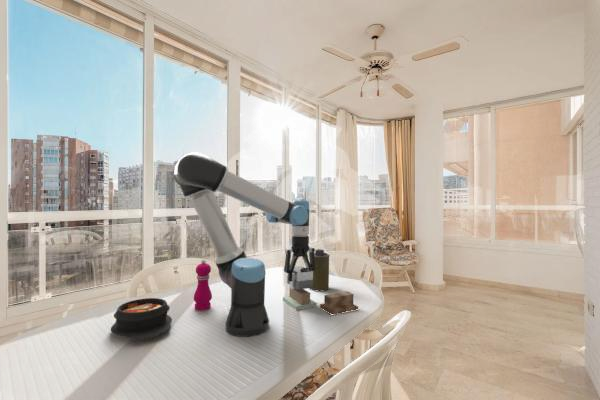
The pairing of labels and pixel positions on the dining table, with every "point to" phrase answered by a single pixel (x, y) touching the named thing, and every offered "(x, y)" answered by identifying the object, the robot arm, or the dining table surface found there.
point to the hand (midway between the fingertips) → (299, 287)
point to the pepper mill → (203, 287)
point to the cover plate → (302, 273)
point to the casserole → (142, 318)
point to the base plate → (302, 284)
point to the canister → (321, 271)
